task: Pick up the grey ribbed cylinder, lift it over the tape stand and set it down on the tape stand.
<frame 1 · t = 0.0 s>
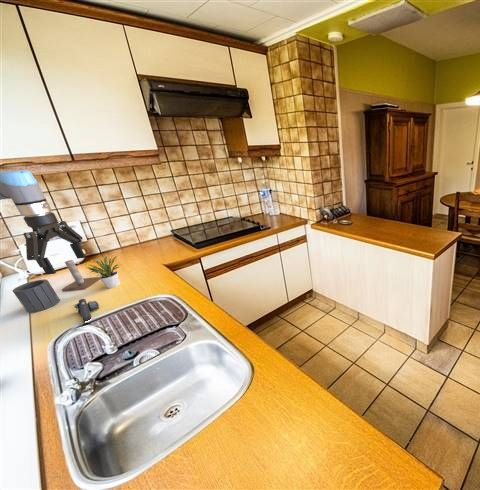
hand: (67, 265, 105), 23 cm above the worktop, tool pointing down, fingers open, 13 cm apart
grey ribbed cylinder: (44, 305, 121), on the worktop
house plant: (116, 284, 136), on the worktop
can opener: (89, 316, 113), on the worktop
tape stand: (82, 285, 137), on the worktop
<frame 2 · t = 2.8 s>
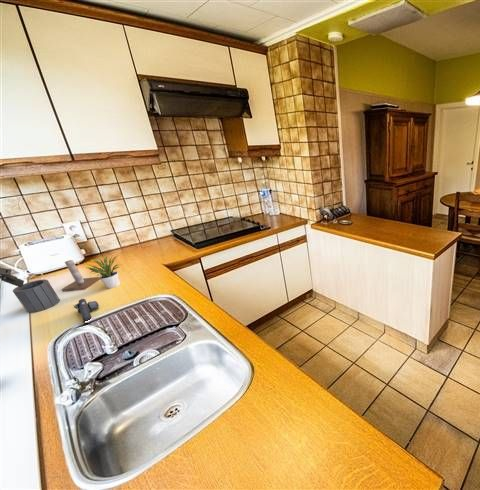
hand: (1, 290, 102), 17 cm above the worktop, tool tilted 35°, fingers open, 13 cm apart
nothing on the worktop moved.
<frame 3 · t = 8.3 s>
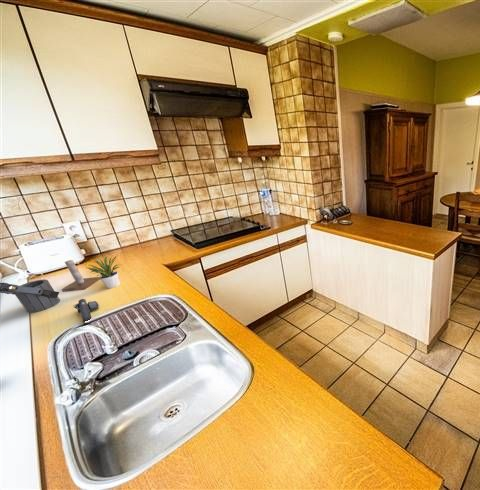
hand: (47, 294, 122), 4 cm above the worktop, tool tilted 45°, fingers closed on grey ribbed cylinder, 10 cm apart
grey ribbed cylinder: (44, 305, 121), on the worktop, touching gripper
everything else where it was.
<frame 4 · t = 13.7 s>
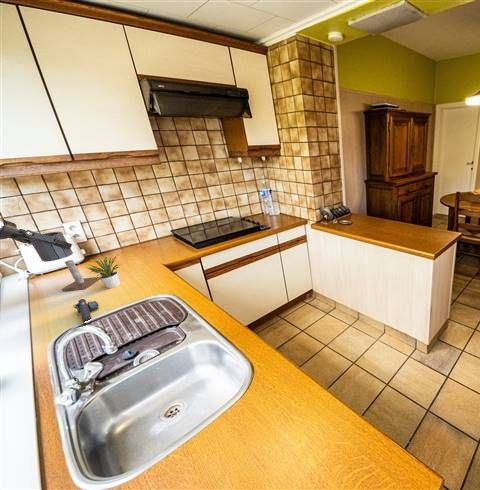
hand: (61, 246, 128), 22 cm above the worktop, tool tilted 45°, fingers closed on grey ribbed cylinder, 10 cm apart
grey ribbed cylinder: (58, 256, 127), point 18 cm above the worktop, touching gripper
everything else where it was.
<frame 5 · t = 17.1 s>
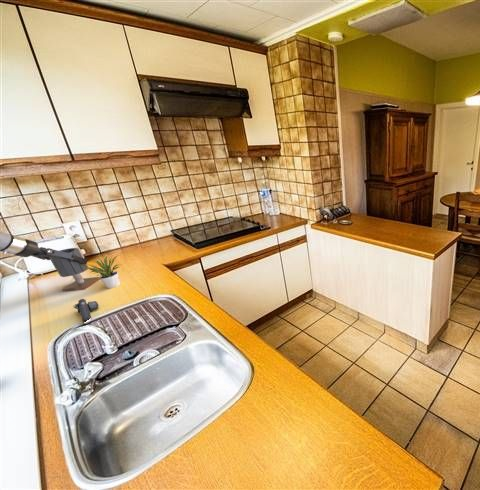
hand: (77, 261, 135), 12 cm above the worktop, tool tilted 45°, fingers closed on grey ribbed cylinder, 10 cm apart
grey ribbed cylinder: (74, 271, 133), point 8 cm above the worktop, touching gripper
everything else where it was.
when the fingers open (6 cm above the worktop, at t = 19.5 s): grey ribbed cylinder stays where it is, resting on tape stand.
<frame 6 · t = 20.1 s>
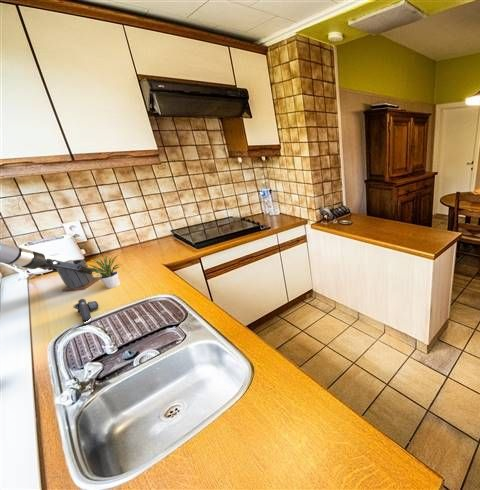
hand: (80, 271, 136), 7 cm above the worktop, tool tilted 45°, fingers open, 13 cm apart
grey ribbed cylinder: (81, 282, 136), point 1 cm above the worktop, touching tape stand
everything else where it was.
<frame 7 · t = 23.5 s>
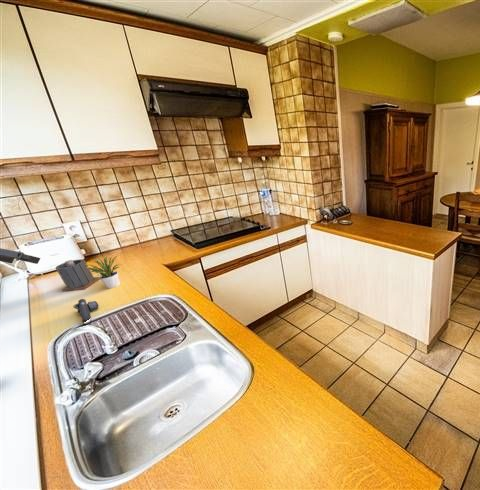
hand: (25, 260, 119), 20 cm above the worktop, tool tilted 45°, fingers open, 13 cm apart
nothing on the worktop moved.
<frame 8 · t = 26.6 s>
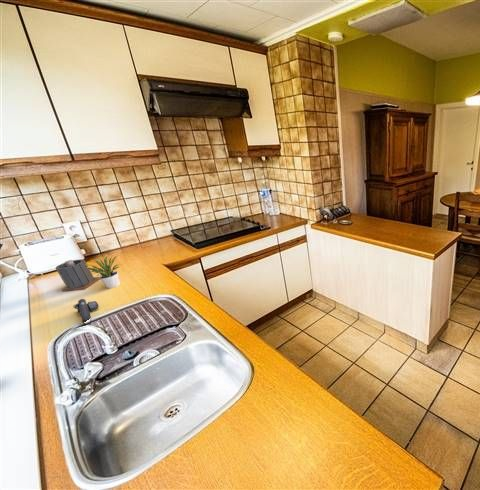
nothing on the worktop moved.
at the end: grey ribbed cylinder 0.1 cm off-centre on the tape stand, point 1.5 cm above the tape stand's base; grey ribbed cylinder tilted 0°; the gripper is holding nothing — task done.
